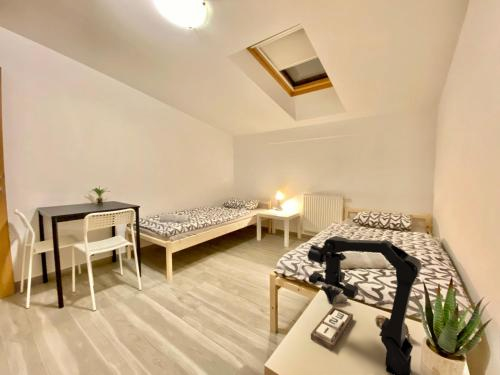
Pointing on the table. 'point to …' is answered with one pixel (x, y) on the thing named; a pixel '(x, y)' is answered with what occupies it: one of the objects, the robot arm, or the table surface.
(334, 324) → the tile
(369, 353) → the table surface
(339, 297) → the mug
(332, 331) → the tile
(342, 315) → the tile
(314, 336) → the tile rack
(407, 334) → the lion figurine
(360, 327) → the table surface
